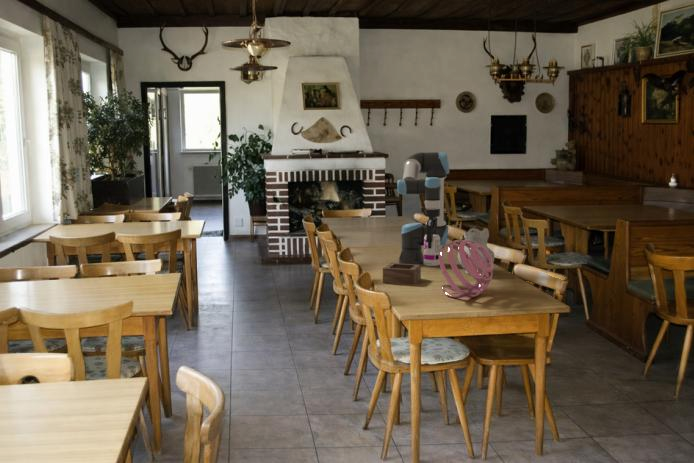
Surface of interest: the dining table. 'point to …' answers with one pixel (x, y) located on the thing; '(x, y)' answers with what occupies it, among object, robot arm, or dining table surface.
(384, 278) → the dark wooden box
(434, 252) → the supplement can
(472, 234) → the grey rounded figure
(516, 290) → the dining table surface
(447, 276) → the spiral basket
